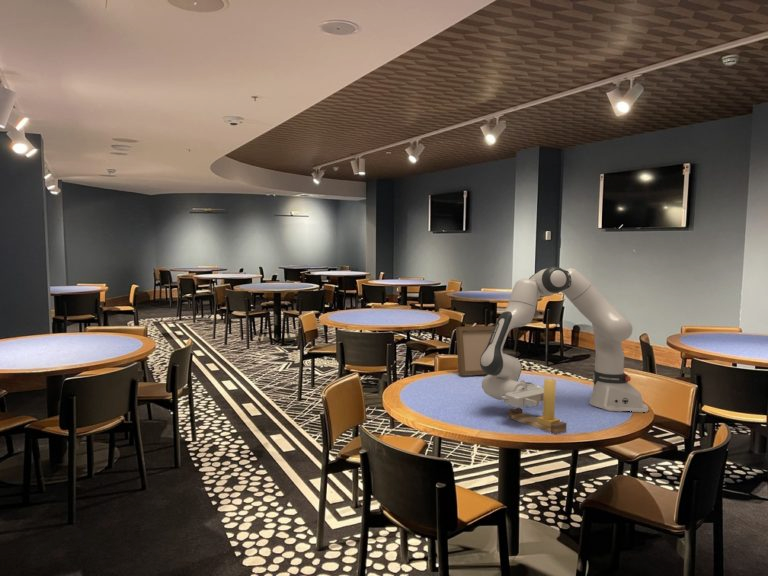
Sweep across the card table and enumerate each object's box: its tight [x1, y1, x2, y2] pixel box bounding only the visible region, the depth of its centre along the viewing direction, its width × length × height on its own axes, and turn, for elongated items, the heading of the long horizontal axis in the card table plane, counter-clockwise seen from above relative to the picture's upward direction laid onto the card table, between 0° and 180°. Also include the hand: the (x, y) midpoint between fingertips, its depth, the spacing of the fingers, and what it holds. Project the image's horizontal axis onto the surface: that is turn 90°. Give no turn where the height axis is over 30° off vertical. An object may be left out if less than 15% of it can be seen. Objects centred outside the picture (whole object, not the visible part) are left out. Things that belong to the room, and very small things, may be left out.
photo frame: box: [455, 325, 495, 376], centre depth 280 cm, size 15×22×25 cm
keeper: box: [537, 378, 561, 427], centre depth 194 cm, size 6×5×16 cm
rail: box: [507, 407, 567, 435], centre depth 199 cm, size 22×6×3 cm, turn 35°
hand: (545, 401), depth 195 cm, fingers open, 8 cm apart
